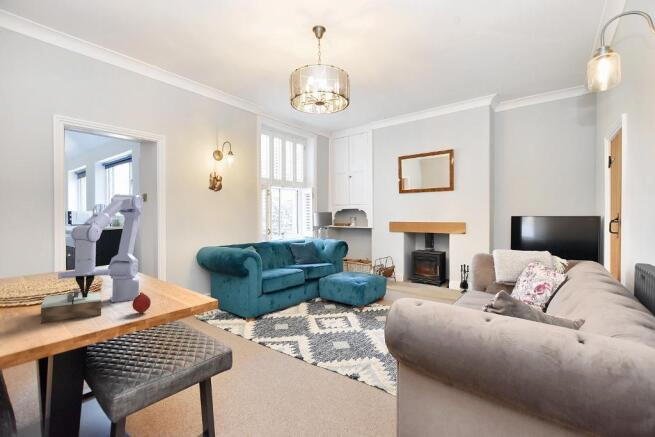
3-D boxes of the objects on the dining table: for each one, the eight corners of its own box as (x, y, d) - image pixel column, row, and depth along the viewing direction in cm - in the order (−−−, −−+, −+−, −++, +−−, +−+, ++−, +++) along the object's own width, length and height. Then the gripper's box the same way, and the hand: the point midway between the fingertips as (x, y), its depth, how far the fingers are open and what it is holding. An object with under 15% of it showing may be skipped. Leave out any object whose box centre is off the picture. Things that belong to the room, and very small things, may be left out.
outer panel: (72, 295, 118) (73, 288, 118) (71, 304, 108) (71, 296, 108) (45, 298, 114) (45, 291, 113) (41, 307, 103) (41, 299, 103)
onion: (137, 310, 119) (137, 289, 119) (153, 311, 120) (153, 290, 120) (129, 316, 114) (129, 293, 113) (145, 316, 114) (146, 294, 114)
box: (99, 305, 123) (99, 293, 123) (100, 315, 113) (101, 301, 113) (44, 312, 114) (45, 298, 114) (40, 323, 103) (41, 308, 103)
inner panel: (99, 292, 123) (100, 286, 123) (101, 300, 113) (101, 293, 113) (74, 295, 119) (74, 288, 118) (73, 304, 108) (73, 296, 108)
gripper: (58, 261, 105) (57, 302, 105) (111, 259, 114) (110, 296, 114) (59, 258, 111) (58, 297, 111) (109, 256, 119) (108, 292, 120)
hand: (84, 297), depth 113 cm, fingers closed
